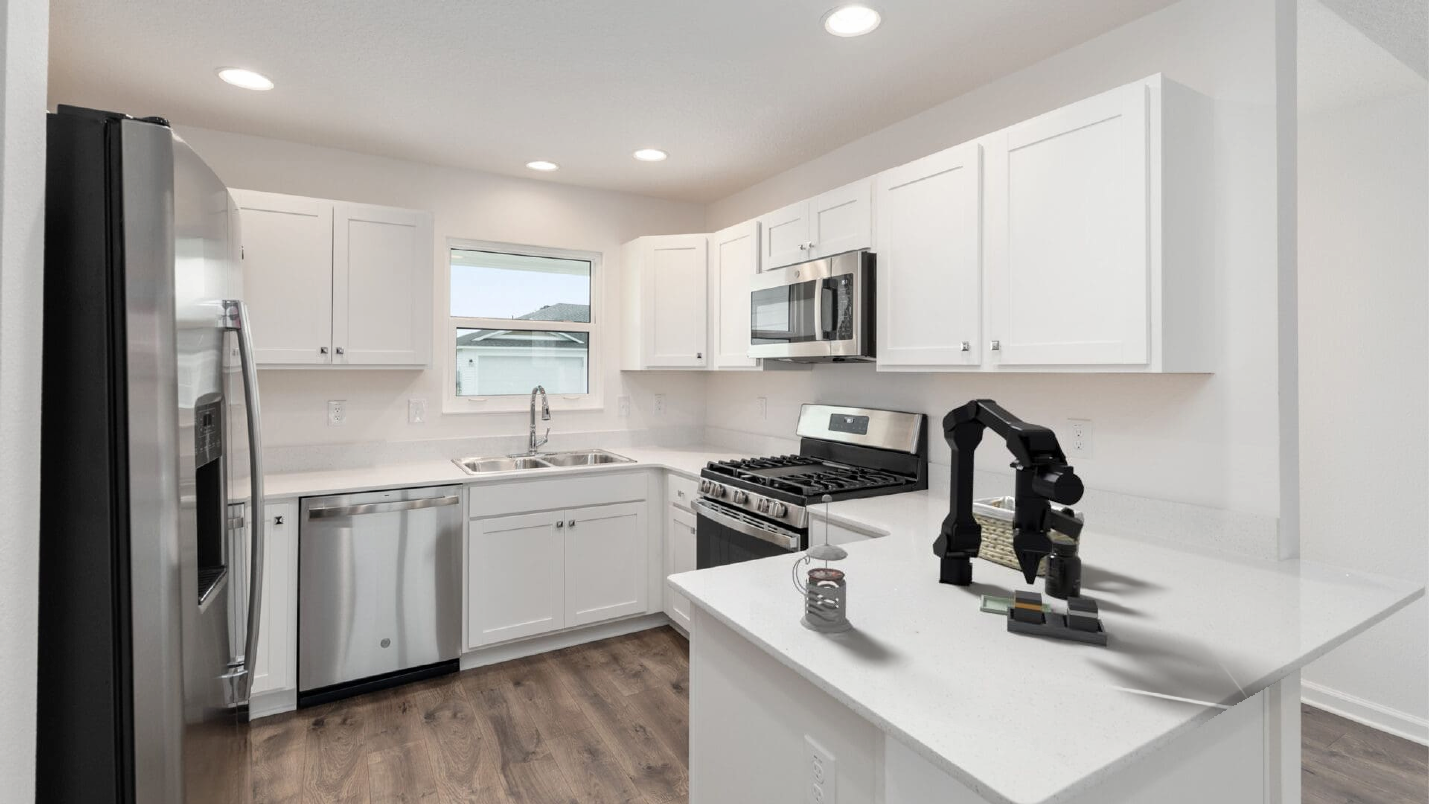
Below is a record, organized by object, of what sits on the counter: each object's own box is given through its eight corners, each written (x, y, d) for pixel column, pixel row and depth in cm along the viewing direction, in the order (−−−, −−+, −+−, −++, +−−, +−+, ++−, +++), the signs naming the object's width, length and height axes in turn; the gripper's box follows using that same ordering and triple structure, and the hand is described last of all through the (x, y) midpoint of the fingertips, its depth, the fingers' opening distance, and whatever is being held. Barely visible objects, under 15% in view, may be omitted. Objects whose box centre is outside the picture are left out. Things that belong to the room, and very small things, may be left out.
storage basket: (961, 553, 176) (963, 499, 175) (1005, 547, 182) (1007, 494, 182) (1039, 579, 154) (1041, 517, 153) (1085, 571, 161) (1087, 511, 160)
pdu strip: (1007, 633, 122) (1007, 620, 122) (1006, 618, 129) (1007, 606, 129) (1106, 648, 115) (1106, 635, 115) (1100, 632, 123) (1100, 619, 122)
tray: (979, 613, 132) (980, 607, 132) (981, 600, 139) (981, 594, 139) (1052, 623, 127) (1052, 617, 127) (1049, 609, 134) (1049, 604, 134)
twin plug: (1068, 636, 119) (1069, 604, 119) (1066, 627, 123) (1067, 596, 123) (1097, 641, 117) (1098, 608, 117) (1094, 631, 122) (1095, 600, 121)
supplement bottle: (1085, 603, 138) (1087, 547, 137) (1050, 600, 139) (1051, 545, 139) (1074, 592, 145) (1075, 539, 144) (1040, 590, 146) (1042, 537, 145)
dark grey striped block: (1041, 632, 121) (1042, 600, 121) (1014, 628, 123) (1015, 597, 123) (1040, 624, 125) (1041, 593, 125) (1014, 620, 127) (1014, 589, 127)
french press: (840, 637, 120) (842, 501, 118) (782, 623, 126) (784, 495, 125) (858, 619, 128) (860, 493, 127) (803, 608, 134) (805, 487, 133)
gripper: (1086, 508, 111) (1083, 598, 112) (1075, 490, 128) (1073, 569, 129) (1014, 502, 115) (1012, 589, 116) (1013, 485, 132) (1011, 562, 133)
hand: (1029, 577), depth 123 cm, fingers open, 9 cm apart
